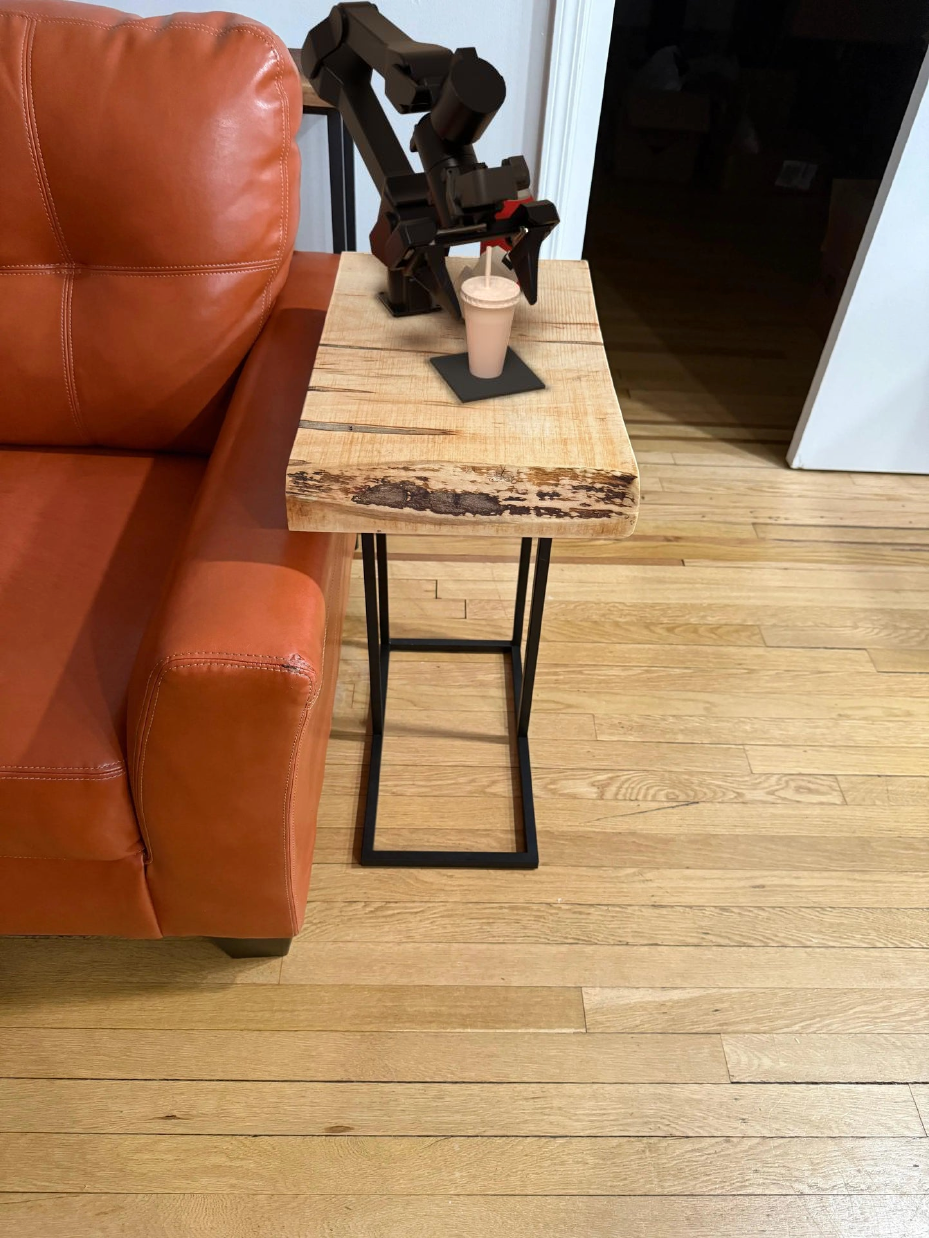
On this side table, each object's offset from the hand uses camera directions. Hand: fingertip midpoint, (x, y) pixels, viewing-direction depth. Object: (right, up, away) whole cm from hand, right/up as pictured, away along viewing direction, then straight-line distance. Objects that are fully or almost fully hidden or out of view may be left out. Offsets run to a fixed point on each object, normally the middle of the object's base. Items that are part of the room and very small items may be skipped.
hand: (497, 311), depth 98 cm
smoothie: (-1, -5, +6) cm, 8 cm away
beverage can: (+2, +12, +25) cm, 27 cm away
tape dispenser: (-1, +5, +17) cm, 18 cm away
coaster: (-1, -5, +6) cm, 8 cm away
